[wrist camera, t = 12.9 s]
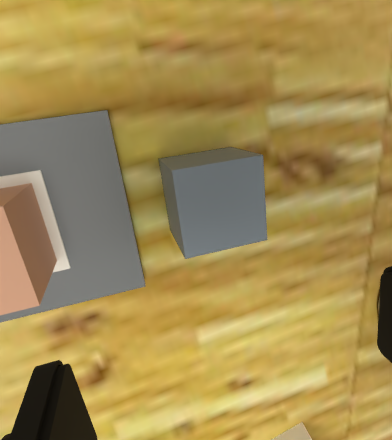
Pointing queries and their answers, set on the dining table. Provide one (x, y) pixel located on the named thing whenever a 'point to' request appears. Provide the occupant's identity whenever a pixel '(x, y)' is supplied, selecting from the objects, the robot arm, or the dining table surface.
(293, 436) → the milk
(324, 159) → the dining table surface
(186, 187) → the slate cube
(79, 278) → the grey flat slab
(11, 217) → the terracotta cube
